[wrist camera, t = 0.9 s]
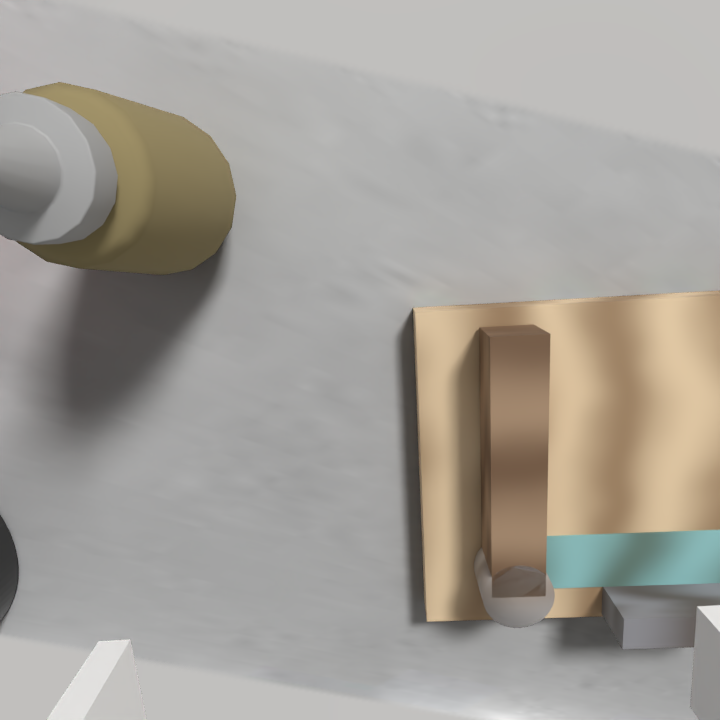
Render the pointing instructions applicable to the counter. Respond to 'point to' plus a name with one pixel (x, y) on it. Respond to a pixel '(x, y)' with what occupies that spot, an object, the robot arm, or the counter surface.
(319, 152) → the counter surface
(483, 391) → the hinged leg
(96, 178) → the squeeze bottle
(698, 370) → the wooden flat board
